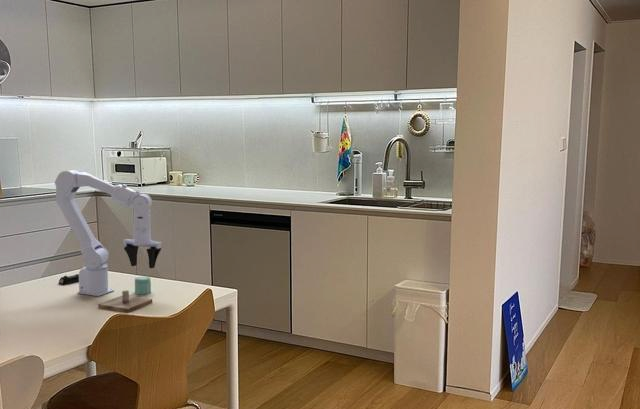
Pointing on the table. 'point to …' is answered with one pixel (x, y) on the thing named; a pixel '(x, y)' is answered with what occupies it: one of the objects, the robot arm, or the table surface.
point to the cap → (142, 285)
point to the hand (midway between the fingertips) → (142, 266)
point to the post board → (125, 303)
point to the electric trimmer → (69, 279)
